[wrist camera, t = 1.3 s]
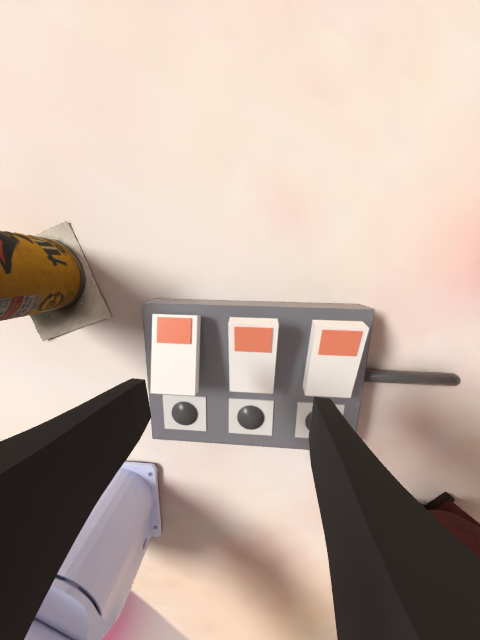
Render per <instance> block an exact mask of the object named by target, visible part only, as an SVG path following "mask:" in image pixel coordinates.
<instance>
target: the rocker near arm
mask: <svg viewBox="0 0 480 640" xmlns="http://www.w3.org/2000/svg"><path fill="white" fill-rule="evenodd" d="M200 324H201V316H200V315H169V314H152V350H151V389H150V393H155V394H173V395H190V396H195V395H196V394H197V392H198V391H199V358H200Z"/></svg>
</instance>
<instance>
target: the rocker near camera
mask: <svg viewBox="0 0 480 640" xmlns="http://www.w3.org/2000/svg"><path fill="white" fill-rule="evenodd" d="M368 331H369V327H368V326H367V325H366V324H365V323H364V322H363V321H336V320H312V327H311V334H310V340H309V347H308V354H307V360H306V367H305V374H304V380H303V390H304V393H305V396H323V397H341V398H351V394H352V390H353V387H354V383H355V379H356V376H357V372H358V368H359V365H360V361H361V357H362V353H363V350H364V346H365V342H366V339H367V335H368Z"/></svg>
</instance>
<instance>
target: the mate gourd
mask: <svg viewBox="0 0 480 640" xmlns="http://www.w3.org/2000/svg"><path fill="white" fill-rule="evenodd" d="M454 501H455V499H454V498H453V497H451V496H450V494H448V493H447V492H444V493H443V494H441V495H440V496H438V497H437V498H435V499H434V500H433V501H431V502H430V503H428V504H427V505H425V506H423V507H424V508H425V509H426V510H427V511H428V512H429V513H430V514H431V515H432V516H433V517H434V518H435V519H437V520H438V521H439V522H440V523H441V524H442V525H443V526H444V527H445V528H446V529H447V530H448V531H449V532H451V533H452V534H453V535H454V536H455V537H456V538H457V539H458V540H459V541H461V542H462V543H463V544H464V545H465V546H466V547H467V548H468V549H469V550H470V551H472V552H473V553H474V554H475V555H476V556H477V557H478V558H479V559H480V524H479V523H478V522H477V521H475V520H474V519H473V518H472V517H471V516H469V515H468V514H467V513H466V512H464V511H463V510H462V509H460V508H459V507H458V506H457V505H455V504H454V503H453V502H454Z"/></svg>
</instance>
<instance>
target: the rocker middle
mask: <svg viewBox="0 0 480 640" xmlns="http://www.w3.org/2000/svg"><path fill="white" fill-rule="evenodd" d="M278 328H279V324H278V319H274V318H243V317H230V319H229V322H228V339H229V383H230V391H231V392H249V393H268V394H273V389H274V377H275V365H276V352H277V340H278Z"/></svg>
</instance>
